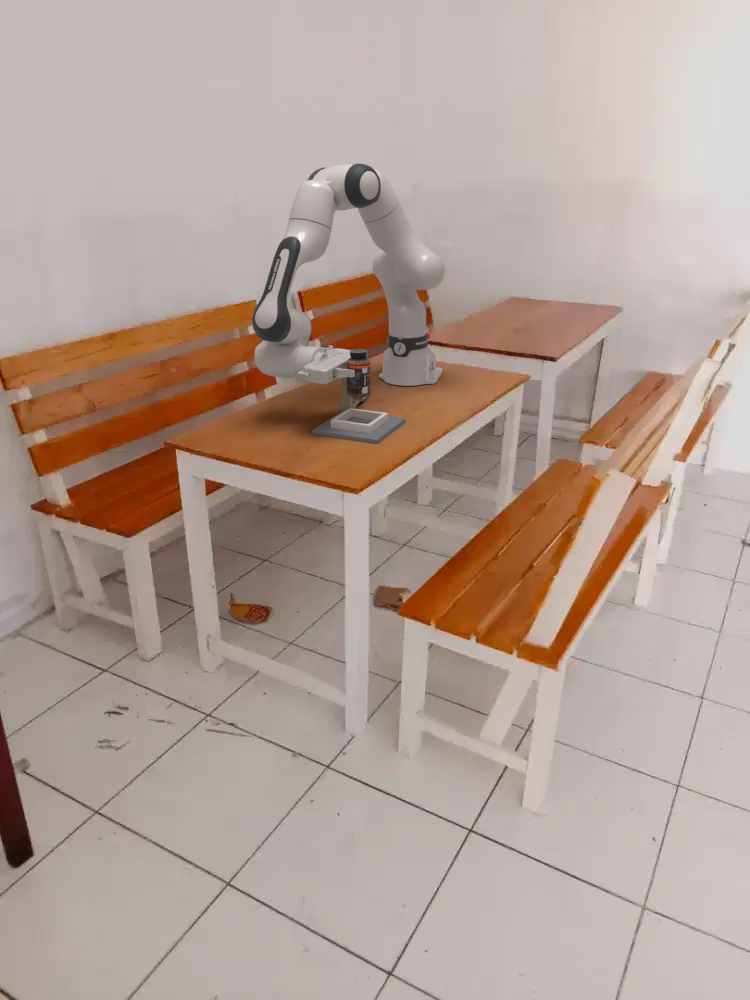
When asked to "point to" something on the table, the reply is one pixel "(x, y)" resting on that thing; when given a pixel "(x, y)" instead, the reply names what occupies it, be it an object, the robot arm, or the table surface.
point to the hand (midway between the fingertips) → (361, 369)
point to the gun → (347, 400)
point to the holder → (360, 425)
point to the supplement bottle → (358, 374)
